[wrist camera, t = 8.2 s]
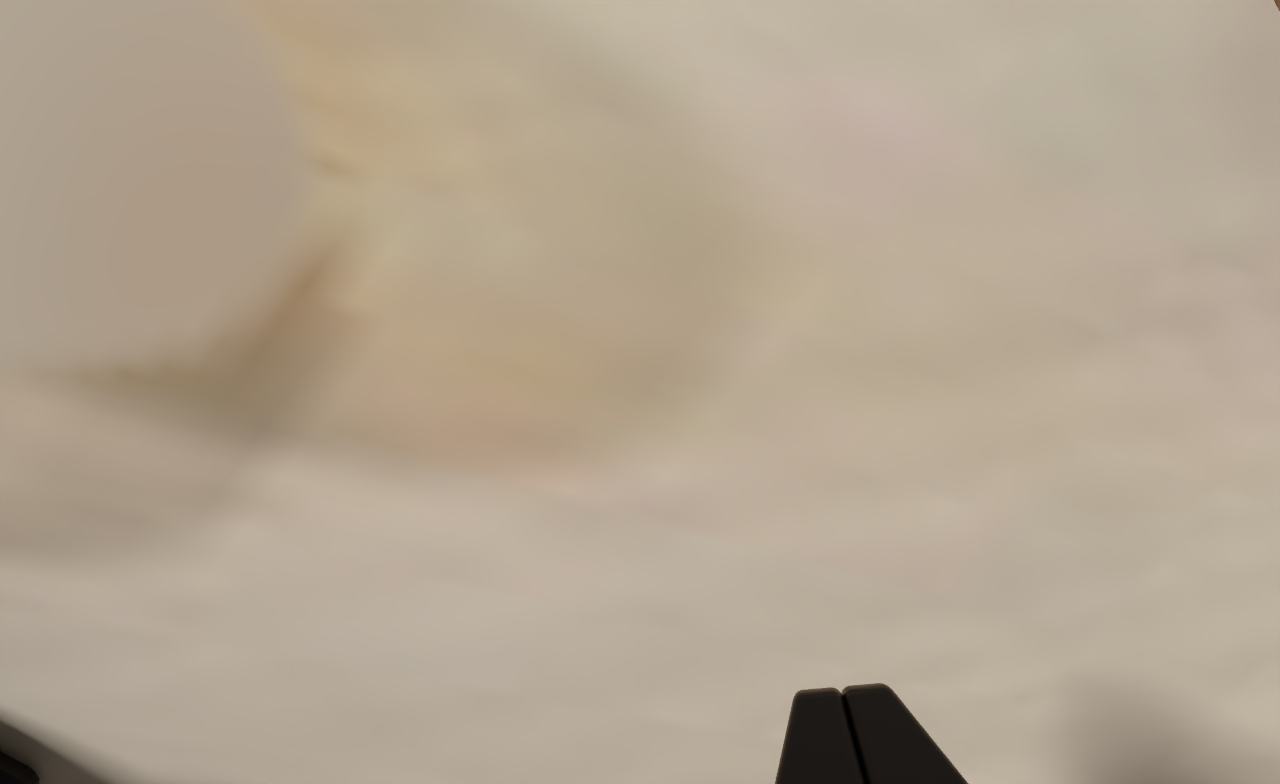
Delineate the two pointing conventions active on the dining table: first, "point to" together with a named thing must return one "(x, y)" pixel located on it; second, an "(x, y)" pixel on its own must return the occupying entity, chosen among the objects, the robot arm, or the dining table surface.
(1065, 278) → the dining table surface
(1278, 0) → the walnut block
